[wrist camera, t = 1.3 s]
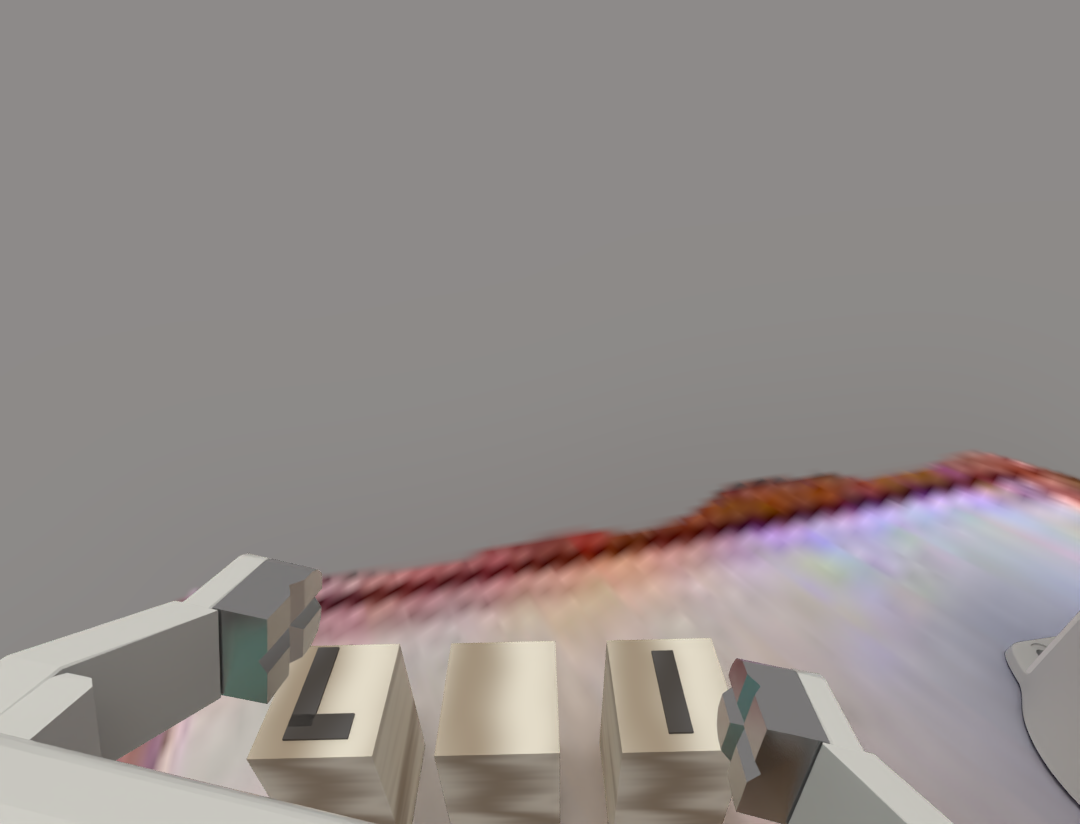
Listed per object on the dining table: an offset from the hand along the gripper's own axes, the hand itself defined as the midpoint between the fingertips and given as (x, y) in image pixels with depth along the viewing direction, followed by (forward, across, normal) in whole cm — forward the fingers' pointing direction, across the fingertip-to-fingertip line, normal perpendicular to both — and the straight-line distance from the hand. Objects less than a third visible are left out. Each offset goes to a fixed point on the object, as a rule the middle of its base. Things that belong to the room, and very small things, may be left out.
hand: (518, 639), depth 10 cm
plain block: (+16, -1, +26) cm, 30 cm away
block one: (+17, -10, +24) cm, 31 cm away
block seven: (+15, +8, +27) cm, 32 cm away
